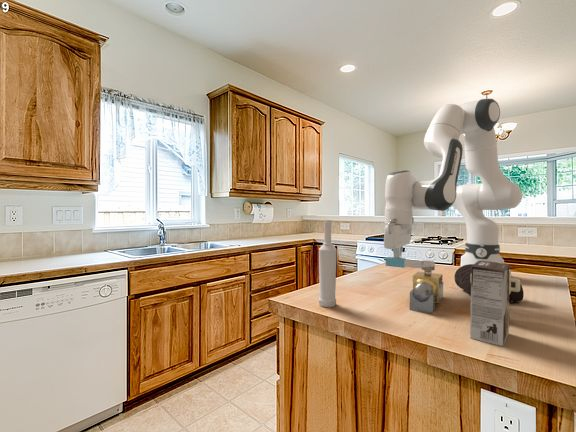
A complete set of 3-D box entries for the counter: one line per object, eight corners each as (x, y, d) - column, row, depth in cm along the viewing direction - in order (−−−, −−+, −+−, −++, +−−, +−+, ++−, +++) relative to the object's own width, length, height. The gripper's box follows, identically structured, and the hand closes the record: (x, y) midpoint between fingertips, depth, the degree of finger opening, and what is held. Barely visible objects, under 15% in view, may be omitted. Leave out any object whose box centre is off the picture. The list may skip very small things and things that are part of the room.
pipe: (526, 280, 89) (502, 263, 104) (469, 281, 93) (454, 264, 107) (524, 311, 91) (501, 289, 106) (469, 310, 94) (453, 289, 109)
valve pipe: (421, 293, 103) (422, 264, 102) (445, 297, 99) (445, 266, 98) (407, 309, 86) (407, 275, 86) (434, 314, 82) (435, 278, 82)
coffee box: (476, 326, 74) (478, 260, 74) (509, 333, 70) (510, 263, 69) (468, 338, 67) (470, 265, 67) (504, 347, 63) (506, 269, 62)
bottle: (338, 307, 88) (339, 220, 88) (321, 308, 87) (322, 220, 87) (332, 301, 93) (333, 219, 93) (316, 302, 92) (316, 219, 92)
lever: (435, 269, 93) (435, 260, 92) (433, 271, 90) (433, 262, 90) (388, 264, 101) (388, 256, 100) (385, 266, 98) (385, 258, 97)
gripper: (399, 219, 92) (399, 265, 93) (414, 218, 109) (414, 256, 110) (379, 219, 96) (378, 263, 96) (396, 218, 113) (396, 255, 113)
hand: (397, 259), depth 103 cm, fingers closed
